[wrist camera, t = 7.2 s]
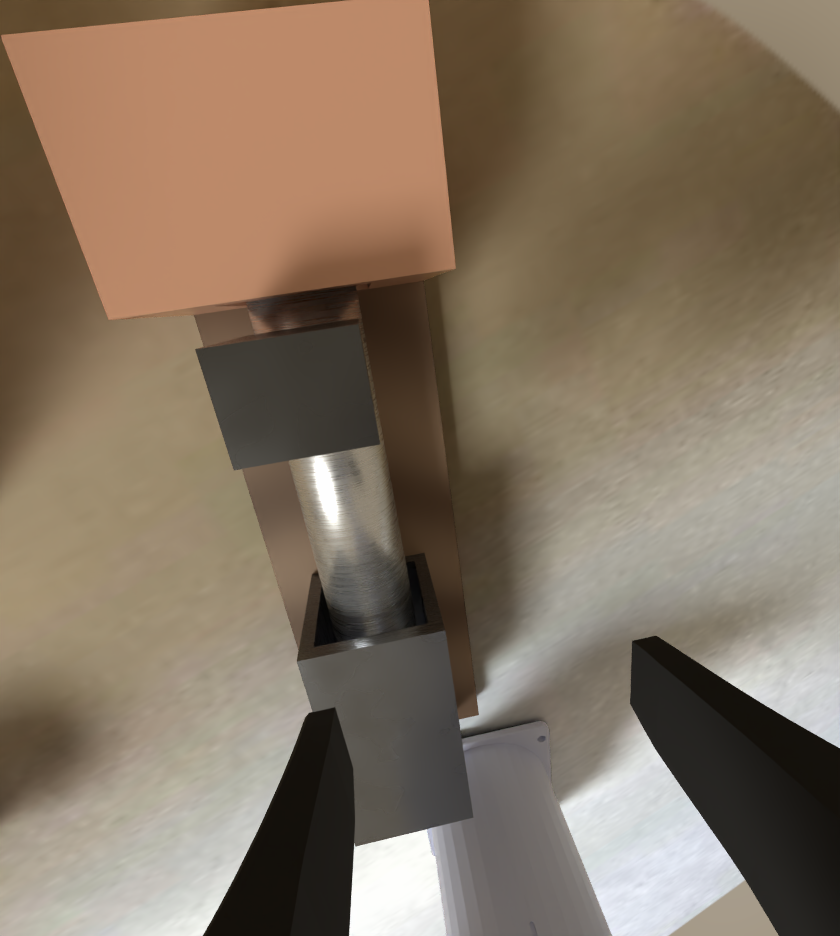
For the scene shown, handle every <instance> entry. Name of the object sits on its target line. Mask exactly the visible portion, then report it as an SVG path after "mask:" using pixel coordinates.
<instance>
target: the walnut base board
mask: <svg viewBox="0 0 840 936" xmlns="http://www.w3.org/2000/svg"><path fill="white" fill-rule="evenodd" d="M357 295H358V300H359V306H360V311H361V317H362V322H363V328H364V334H365V339H366V345H367V350H368V356H369V361H370V367H371V373H372V378H373V384H374V389H375V395H376V400H377V406H378V411H379V417H380V423H381V428H382V434H383V439H384V445H385V450H386V456H387V461H388V467H389V473H390V478H391V484H392V489H393V495H394V500H395V506H396V511H397V517H398V523H399V528H400V534H401V539H402V545H403V550H404V556H410V555H415V554H420V553H425V557H426V561H427V564H428V568H429V572H430V575H431V579H432V583H433V587H434V590H435V594H436V598H437V601H438V605H439V609H440V613H441V616H442V620H443V624H444V627H445V632H446V638H447V645H448V652H449V658H450V665H451V671H452V678H453V685H454V691H455V698H456V705H457V711H458V718H459V719H463V718H467V717H472V716H476V715H479V713H478V705H477V697H476V689H475V681H474V673H473V665H472V658H471V650H470V642H469V634H468V626H467V618H466V610H465V603H464V595H463V587H462V579H461V571H460V563H459V555H458V547H457V540H456V532H455V524H454V516H453V508H452V500H451V492H450V484H449V477H448V469H447V461H446V453H445V445H444V437H443V429H442V422H441V414H440V406H439V398H438V390H437V382H436V374H435V366H434V359H433V351H432V343H431V335H430V327H429V319H428V311H427V304H426V296H425V288H424V281H419V282H412V283H406V284H399V285H392V286H385V287H379V288H372V289H365V290H359V291H357ZM194 317H195V320H196V323H197V326H198V329H199V333H200V336H201V339H202V342H203V345H204V347H206V346H210V345H213V344H217V343H221V342H225V341H228V340H232V339H236V338H239V337H243V336H247V335H253V334H254V331H253V327H252V323H251V319H250V316H249V312H248V308H247V307H245V308H238V309H231V310H225V311H218V312H211V313H204V314H198V315H194ZM242 470H243V474H244V477H245V480H246V483H247V487H248V490H249V493H250V496H251V499H252V503H253V506H254V509H255V512H256V515H257V519H258V522H259V525H260V528H261V531H262V535H263V538H264V541H265V544H266V547H267V551H268V554H269V557H270V560H271V563H272V567H273V570H274V573H275V576H276V579H277V583H278V586H279V589H280V592H281V595H282V599H283V602H284V605H285V608H286V611H287V615H288V618H289V621H290V624H291V628H292V631H293V634H294V637H295V640H296V644H297V647H298V650H299V646H300V640H301V634H302V629H303V623H304V617H305V611H306V605H307V600H308V594H309V588H310V582H311V576H312V575H313V574H318V569H317V565H316V562H315V558H314V554H313V551H312V547H311V543H310V539H309V536H308V532H307V528H306V524H305V521H304V517H303V513H302V510H301V506H300V502H299V498H298V495H297V491H296V487H295V483H294V480H293V476H292V472H291V469H290V465H289V461H284V462H278V463H273V464H267V465H261V466H256V467H250V468H244V469H242Z"/></svg>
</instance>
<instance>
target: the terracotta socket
mask: <svg viewBox="0 0 840 936" xmlns="http://www.w3.org/2000/svg"><path fill="white" fill-rule="evenodd" d="M0 36H1V39H2V41H3V44H4V46H5V49H6V52H7V54H8V57H9V60H10V62H11V65H12V67H13V70H14V73H15V75H16V78H17V81H18V83H19V86H20V88H21V91H22V94H23V96H24V99H25V102H26V104H27V107H28V109H29V112H30V115H31V117H32V120H33V123H34V125H35V128H36V130H37V133H38V136H39V138H40V141H41V144H42V146H43V149H44V151H45V154H46V157H47V159H48V162H49V165H50V167H51V170H52V172H53V175H54V178H55V180H56V183H57V186H58V188H59V191H60V193H61V196H62V199H63V201H64V204H65V207H66V209H67V212H68V214H69V217H70V220H71V222H72V225H73V228H74V230H75V233H76V235H77V238H78V241H79V243H80V246H81V249H82V251H83V254H84V256H85V259H86V262H87V264H88V267H89V270H90V272H91V275H92V277H93V280H94V283H95V285H96V288H97V291H98V293H99V296H100V298H101V301H102V304H103V306H104V309H105V312H106V314H107V317H108V319H109V320H117V319H134V318H152V317H169V316H186V315H198V314H204V313H211V312H218V311H225V310H231V309H238V308H245V307H247V305H246V301H253V300H260V299H267V298H273V297H280V296H287V295H294V294H300V293H307V292H314V291H321V290H327V289H334V288H341V287H348V286H354V285H356V289H357V291H359V290H365V289H372V288H379V287H385V286H392V285H399V284H406V283H412V282H419V281H424V280H427V279H430V278H432V277H435V276H438V275H440V274H443V273H446V272H448V271H451V270H453V269H456V265H455V255H454V246H453V236H452V226H451V216H450V206H449V196H448V186H447V176H446V167H445V157H444V147H443V137H442V127H441V117H440V107H439V98H438V88H437V78H436V68H435V58H434V48H433V38H432V28H431V19H430V9H429V0H347V1H337V2H327V3H317V4H307V5H297V6H287V7H277V8H267V9H257V10H247V11H237V12H227V13H217V14H207V15H197V16H187V17H177V18H167V19H157V20H147V21H137V22H127V23H117V24H107V25H97V26H87V27H77V28H67V29H57V30H47V31H37V32H27V33H17V34H7V35H0Z"/></svg>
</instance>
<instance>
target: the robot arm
mask: <svg viewBox="0 0 840 936" xmlns="http://www.w3.org/2000/svg"><path fill="white" fill-rule="evenodd" d="M630 704H631V706H632V708H633V710H634V711H635V713H636V715H637V717H638V719H639V721H640V723H641V724H642V726H643V728H644V730H645V732H646V733H647V735H648V737H649V739H650V740H651V742H652V744H653V746H654V747H655V749H656V751H657V752H658V754H659V755H660V757H661V758H662V760H663V761H664V762H665V764H666V765H667V767H668V768H669V770H670V771H671V773H672V774H673V775H674V777H675V778H676V780H677V781H678V783H679V784H680V786H681V787H682V788H683V790H684V791H685V793H686V794H687V796H688V797H689V798H690V800H691V801H692V803H693V804H694V806H695V807H696V809H697V810H698V811H699V813H700V814H701V816H702V817H703V819H704V820H705V821H706V823H707V824H708V826H709V827H710V829H711V830H712V831H713V833H714V834H715V836H716V837H717V839H718V840H719V841H720V843H721V844H722V846H723V847H724V849H725V850H726V851H727V853H728V854H729V856H730V857H731V859H732V860H733V862H734V863H735V865H736V866H737V868H738V869H739V871H740V872H741V874H742V875H743V877H744V879H745V880H746V882H747V883H748V885H749V886H750V888H751V890H752V891H753V893H754V895H755V896H756V898H757V900H758V901H759V903H760V905H761V906H762V908H763V910H764V911H765V913H766V915H767V916H768V918H769V920H770V921H771V923H772V925H773V926H774V928H775V930H776V932H777V933H778V935H779V936H840V748H838V747H836V746H835V745H833V744H831V743H829V742H827V741H825V740H824V739H822V738H820V737H818V736H817V735H815V734H813V733H811V732H810V731H808V730H806V729H804V728H803V727H801V726H799V725H797V724H796V723H794V722H792V721H790V720H789V719H787V718H785V717H784V716H782V715H780V714H779V713H777V712H775V711H774V710H772V709H770V708H769V707H767V706H765V705H764V704H762V703H760V702H759V701H757V700H755V699H754V698H752V697H751V696H749V695H747V694H746V693H744V692H743V691H741V690H739V689H738V688H736V687H735V686H733V685H732V684H730V683H728V682H727V681H725V680H724V679H722V678H721V677H719V676H718V675H716V674H714V673H713V672H711V671H710V670H708V669H707V668H705V667H704V666H702V665H701V664H699V663H698V662H696V661H694V660H693V659H691V658H690V657H688V656H687V655H685V654H684V653H682V652H681V651H679V650H678V649H676V648H675V647H673V646H672V645H670V644H668V643H667V642H665V641H664V640H662V639H661V638H659V637H657V636H652V637H648V638H643V639H639V640H634V641H632V665H631V698H630ZM462 744H463V751H464V758H465V764H466V771H467V777H468V784H469V791H470V797H471V804H472V810H473V817H474V818H470V819H466V820H462V821H458V822H454V823H450V824H446V825H441V826H437V827H433V828H429V829H427V832H428V837H429V842H430V846H431V851H432V854H433V855H434V856H435V857H436V864H437V871H438V878H439V885H440V892H441V899H442V906H443V914H444V921H445V928H446V935H447V936H612V934H611V932H610V929H609V927H608V925H607V922H606V920H605V917H604V915H603V912H602V910H601V907H600V905H599V902H598V900H597V897H596V895H595V892H594V890H593V887H592V885H591V882H590V880H589V877H588V875H587V872H586V870H585V867H584V865H583V863H582V860H581V858H580V855H579V853H578V850H577V848H576V845H575V843H574V840H573V838H572V835H571V833H570V830H569V828H568V825H567V823H566V820H565V818H564V815H563V813H562V810H561V808H560V805H559V803H558V801H557V798H556V796H555V793H554V791H553V788H552V780H551V759H550V737H549V728H548V726H547V724H546V723H545V722H543V721H537V722H533V723H528V724H524V725H519V726H515V727H511V728H506V729H502V730H498V731H493V732H489V733H485V734H480V735H476V736H471V737H467V738H463V739H462ZM354 835H355V798H354V774H353V766H352V762H351V759H350V755H349V752H348V749H347V745H346V742H345V738H344V735H343V732H342V728H341V725H340V721H339V718H338V715H337V711H336V708H335V707H334V708H329V709H325V710H320V711H316V712H311V713H309V714H308V715H307V716H306V717H305V720H304V722H303V725H302V728H301V731H300V733H299V736H298V739H297V741H296V744H295V747H294V749H293V752H292V754H291V757H290V759H289V762H288V764H287V766H286V769H285V771H284V774H283V776H282V778H281V781H280V783H279V785H278V787H277V790H276V792H275V794H274V796H273V799H272V801H271V803H270V805H269V808H268V810H267V812H266V814H265V817H264V819H263V821H262V823H261V825H260V827H259V829H258V832H257V834H256V836H255V838H254V840H253V842H252V844H251V846H250V848H249V850H248V852H247V854H246V856H245V858H244V860H243V862H242V864H241V866H240V868H239V870H238V872H237V874H236V876H235V878H234V880H233V882H232V884H231V886H230V887H229V889H228V891H227V893H226V895H225V897H224V899H223V901H222V902H221V904H220V906H219V908H218V910H217V912H216V913H215V915H214V917H213V919H212V921H211V922H210V924H209V926H208V928H207V930H206V931H205V933H204V935H203V936H349V926H350V908H351V890H352V873H353V854H354Z"/></svg>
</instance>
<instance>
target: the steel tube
mask: <svg viewBox="0 0 840 936" xmlns="http://www.w3.org/2000/svg"><path fill="white" fill-rule="evenodd" d="M246 305H247V308H248V312H249V316H250V319H251V323H252V327H253V331H254V334H253V335H247V336H243V337H239V338H236V339H232V340H228V341H225V342H221V343H217V344H213V345H210V346H206V347H202V348H199V349H195V350H196V353H197V356H198V359H199V363H200V366H201V369H202V372H203V375H204V378H205V381H206V384H207V388H208V391H209V394H210V397H211V400H212V403H213V406H214V409H215V413H216V416H217V419H218V422H219V425H220V428H221V431H222V435H223V438H224V441H225V444H226V447H227V450H228V453H229V456H230V460H231V463H232V466H233V469H234V470H239V469H244V468H250V467H256V466H261V465H267V464H273V463H278V462H284V461H289V465H290V469H291V472H292V476H293V480H294V483H295V487H296V491H297V495H298V498H299V502H300V506H301V510H302V513H303V517H304V521H305V524H306V528H307V532H308V536H309V539H310V543H311V547H312V551H313V554H314V558H315V562H316V565H317V569H318V573H319V577H320V580H321V584H322V588H323V592H324V595H325V599H326V603H327V606H328V610H329V614H330V618H331V621H332V625H333V629H334V633H335V636H336V640H337V642H342V641H347V640H351V639H356V638H361V637H366V636H371V635H375V634H380V633H385V632H390V631H395V630H400V629H404V628H409V627H414V626H417V623H416V617H415V612H414V606H413V600H412V595H411V589H410V584H409V578H408V573H407V567H406V562H405V556H404V550H403V545H402V539H401V534H400V528H399V523H398V517H397V511H396V506H395V500H394V495H393V489H392V484H391V478H390V473H389V467H388V461H387V456H386V450H385V445H384V439H383V434H382V428H381V423H380V417H379V411H378V406H377V400H376V395H375V389H374V384H373V378H372V373H371V367H370V361H369V356H368V350H367V345H366V339H365V334H364V328H363V322H362V317H361V311H360V306H359V300H358V295H357V289H356V285H354V286H348V287H341V288H334V289H327V290H321V291H314V292H307V293H300V294H294V295H287V296H280V297H273V298H267V299H260V300H253V301H246Z"/></svg>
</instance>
